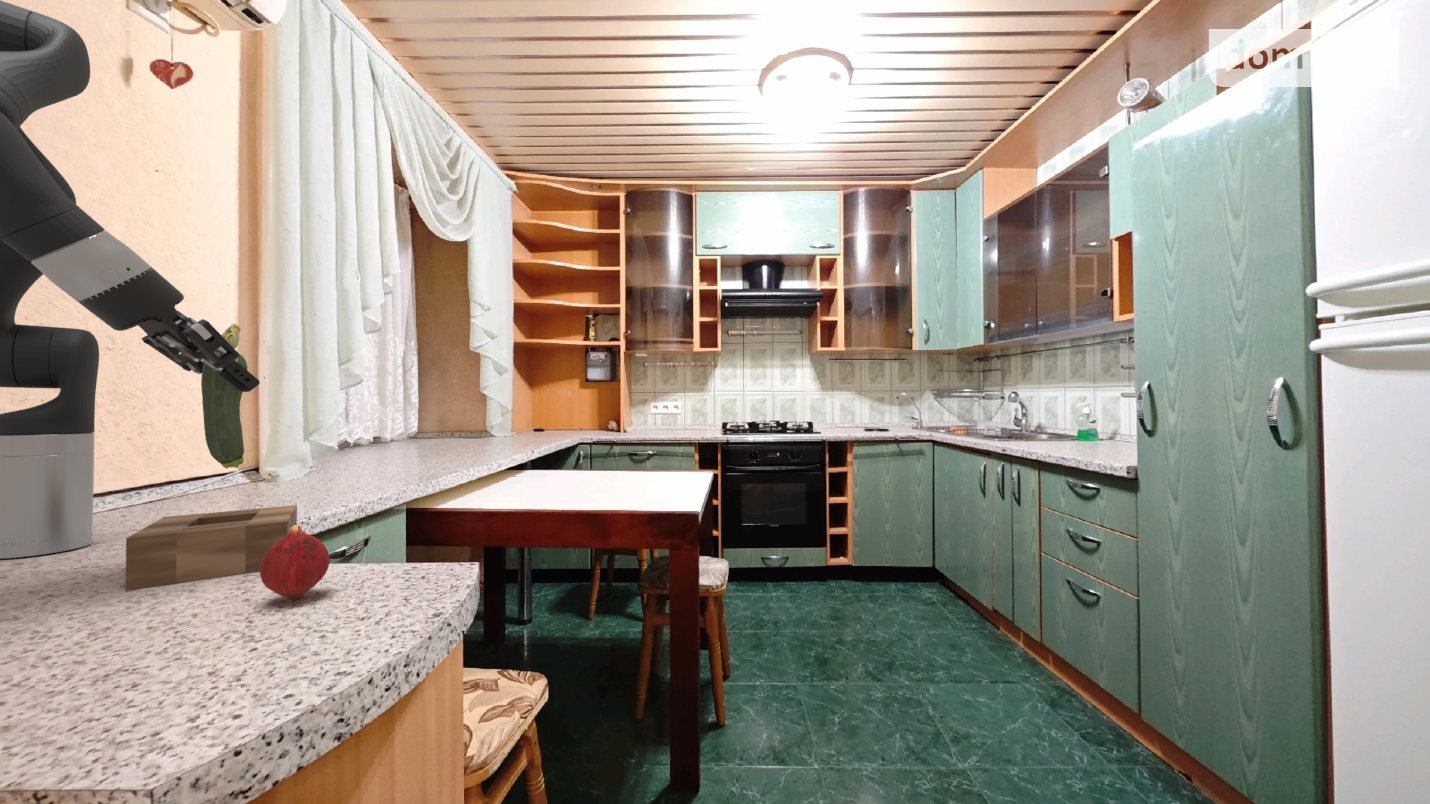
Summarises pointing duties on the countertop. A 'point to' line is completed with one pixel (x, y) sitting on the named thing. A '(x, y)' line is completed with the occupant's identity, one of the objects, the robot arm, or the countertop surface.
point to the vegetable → (223, 410)
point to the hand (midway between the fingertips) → (243, 388)
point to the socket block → (204, 545)
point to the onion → (294, 564)
